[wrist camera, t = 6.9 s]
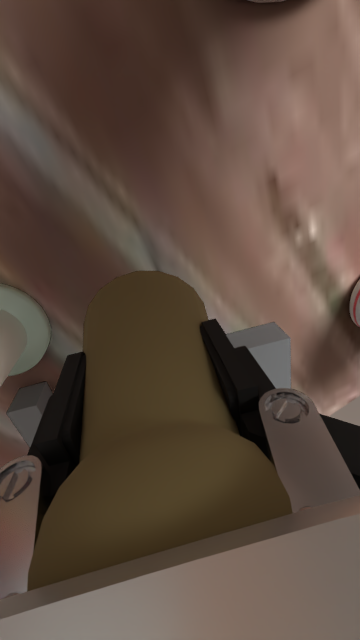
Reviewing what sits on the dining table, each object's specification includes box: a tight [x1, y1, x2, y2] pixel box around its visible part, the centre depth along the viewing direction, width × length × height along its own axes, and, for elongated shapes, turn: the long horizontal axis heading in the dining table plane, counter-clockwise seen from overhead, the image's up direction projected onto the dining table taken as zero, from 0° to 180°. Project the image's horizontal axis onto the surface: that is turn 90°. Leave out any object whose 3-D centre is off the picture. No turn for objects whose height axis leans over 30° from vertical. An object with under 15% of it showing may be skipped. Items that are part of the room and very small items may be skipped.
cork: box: [27, 271, 293, 592], centre depth 9 cm, size 6×6×11 cm
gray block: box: [6, 322, 291, 447], centre depth 23 cm, size 20×12×2 cm, turn 102°
